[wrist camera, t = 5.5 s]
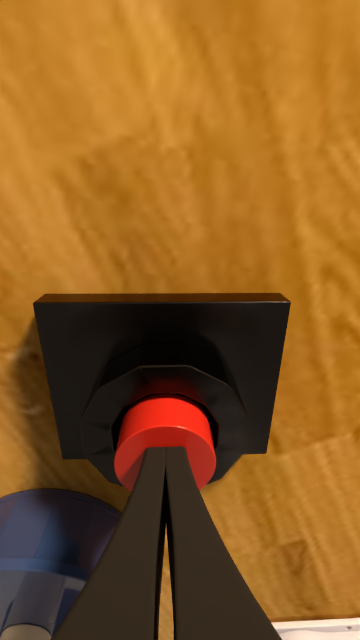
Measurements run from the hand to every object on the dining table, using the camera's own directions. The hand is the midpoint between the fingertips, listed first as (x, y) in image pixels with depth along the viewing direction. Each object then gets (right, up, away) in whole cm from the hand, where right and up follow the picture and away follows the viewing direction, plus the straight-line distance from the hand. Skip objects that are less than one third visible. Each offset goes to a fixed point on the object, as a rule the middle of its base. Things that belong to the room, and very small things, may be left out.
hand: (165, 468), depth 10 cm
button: (0, +1, +2) cm, 2 cm away
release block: (0, +3, +4) cm, 5 cm away
